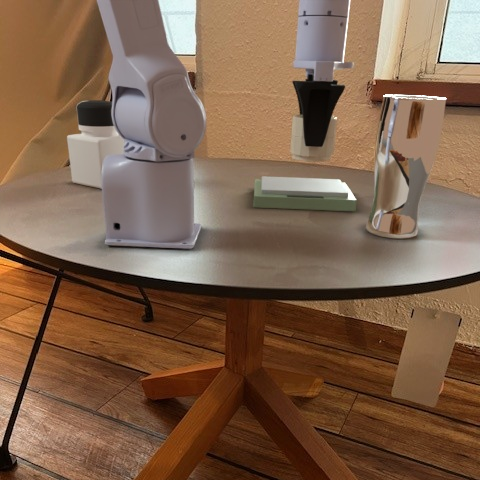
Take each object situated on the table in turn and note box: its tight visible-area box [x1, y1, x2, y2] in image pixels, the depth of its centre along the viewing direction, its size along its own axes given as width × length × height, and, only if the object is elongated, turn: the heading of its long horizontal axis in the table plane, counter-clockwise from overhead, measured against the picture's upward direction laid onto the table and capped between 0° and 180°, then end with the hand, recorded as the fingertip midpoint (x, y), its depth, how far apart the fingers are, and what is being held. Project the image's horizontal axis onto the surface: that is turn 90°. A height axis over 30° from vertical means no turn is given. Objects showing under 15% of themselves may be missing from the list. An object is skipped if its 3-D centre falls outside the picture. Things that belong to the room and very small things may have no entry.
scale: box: [253, 175, 358, 212], centre depth 73 cm, size 14×11×2 cm
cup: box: [289, 113, 338, 163], centre depth 63 cm, size 6×6×5 cm
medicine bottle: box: [66, 99, 124, 190], centre depth 77 cm, size 7×7×12 cm
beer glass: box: [365, 94, 447, 240], centre depth 58 cm, size 7×7×15 cm
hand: (311, 142), depth 64 cm, fingers closed on cup, 5 cm apart
